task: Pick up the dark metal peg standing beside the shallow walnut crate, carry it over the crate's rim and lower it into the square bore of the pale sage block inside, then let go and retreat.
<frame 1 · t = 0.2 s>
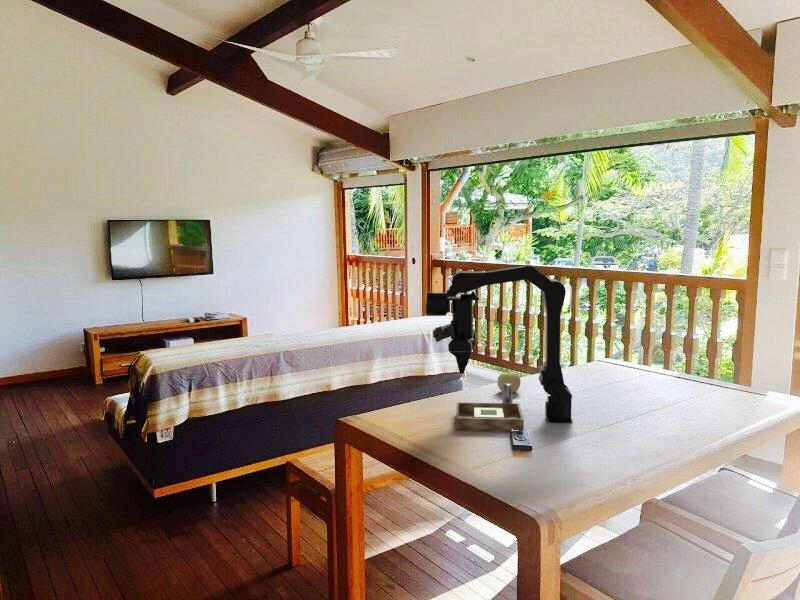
hand: (463, 369, 171), 14 cm above the table, fingers open, 9 cm apart
crate: (488, 422, 168), on the table
bore plate: (488, 416, 167), in the crate, point 1 cm above the table
fruit: (509, 392, 196), on the table
peg: (507, 410, 178), on the table
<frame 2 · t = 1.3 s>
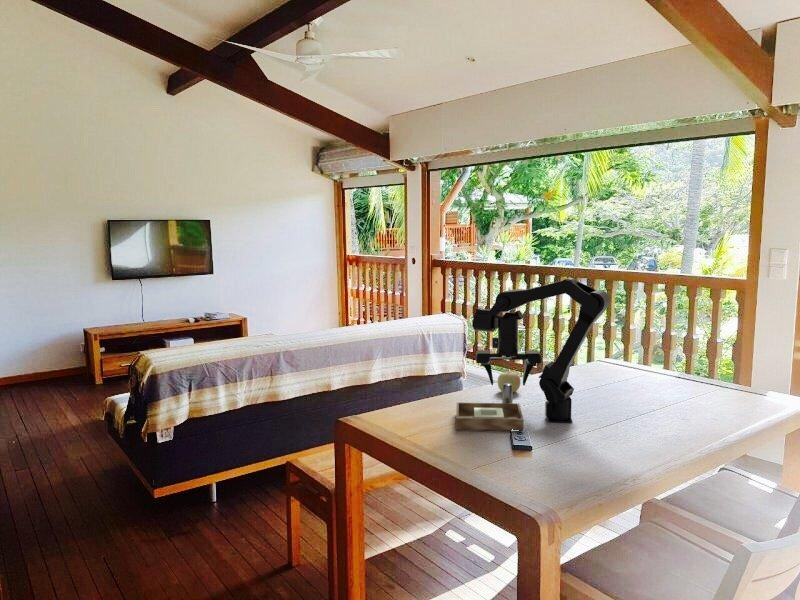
hand: (507, 385, 177), 8 cm above the table, fingers open, 9 cm apart
nothing on the table moved.
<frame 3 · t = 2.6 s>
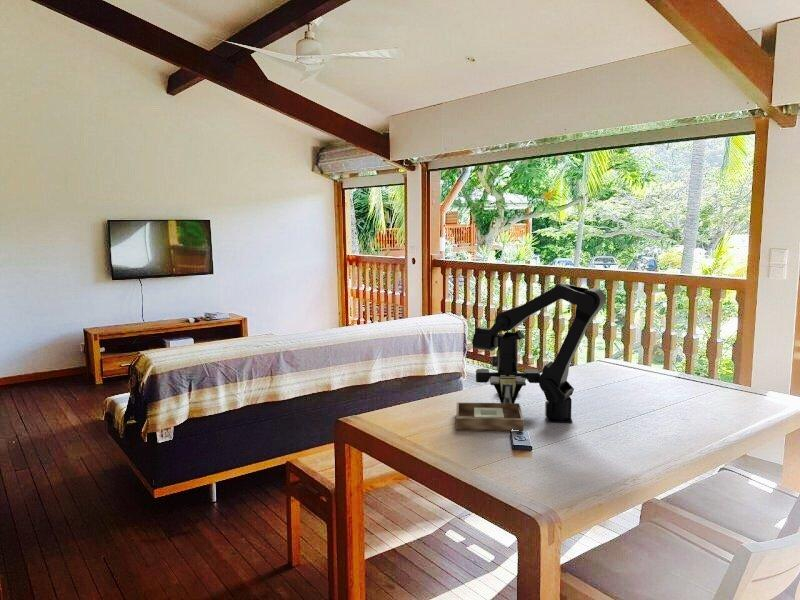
hand: (507, 403, 178), 2 cm above the table, fingers closed on peg, 3 cm apart
peg: (507, 410, 178), on the table, touching gripper
everything else where it was.
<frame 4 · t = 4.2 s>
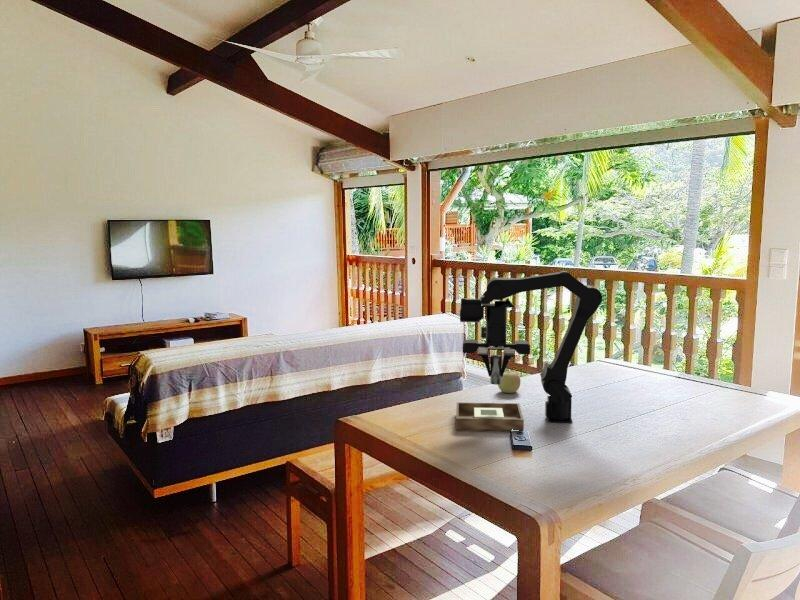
hand: (495, 376, 170), 12 cm above the table, fingers closed on peg, 3 cm apart
peg: (495, 383, 171), point 10 cm above the table, touching gripper
everything else where it was.
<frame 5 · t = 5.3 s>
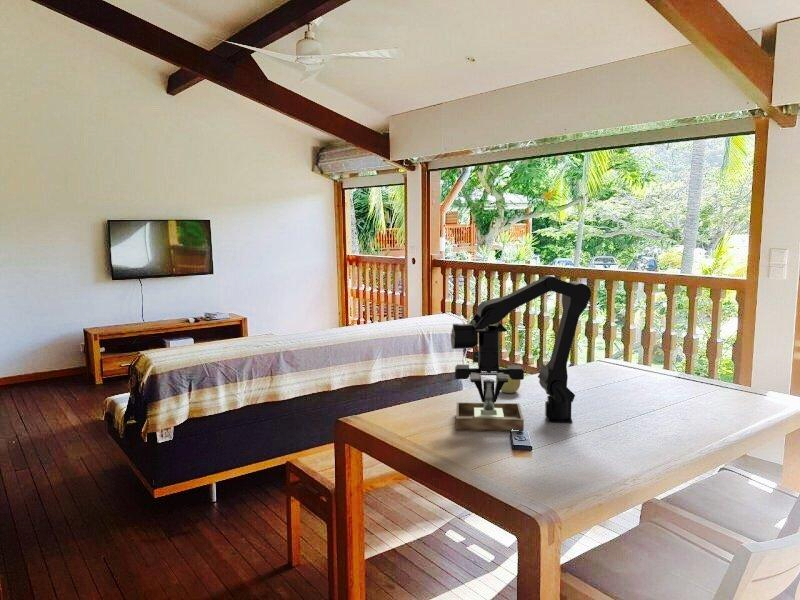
hand: (488, 401, 167), 6 cm above the table, fingers closed on peg, 3 cm apart
peg: (488, 408, 167), point 4 cm above the table, touching gripper
everything else where it was.
when the fingers open (4 cm above the table, at t = 5.9 s): peg drops 1 cm, resting on crate.
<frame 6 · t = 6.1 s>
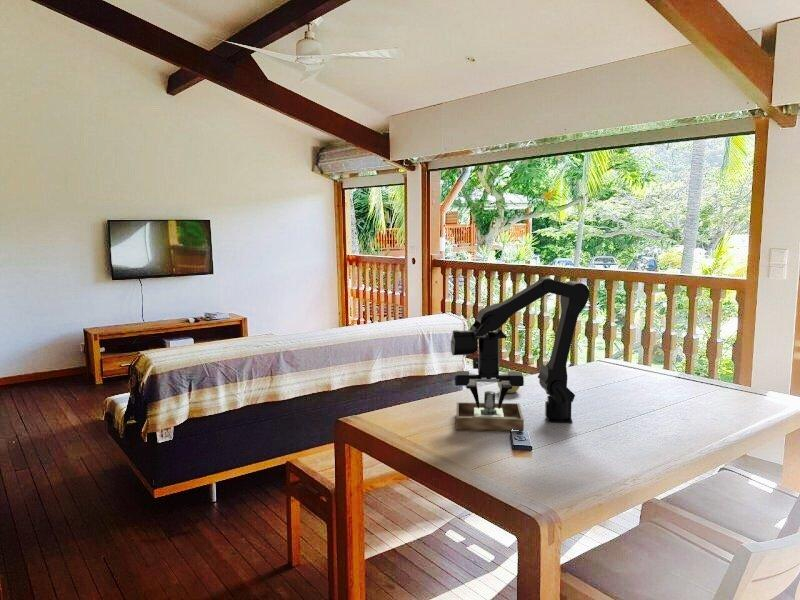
hand: (488, 408, 167), 4 cm above the table, fingers open, 5 cm apart
peg: (488, 420, 168), point 1 cm above the table, touching crate
everything else where it was.
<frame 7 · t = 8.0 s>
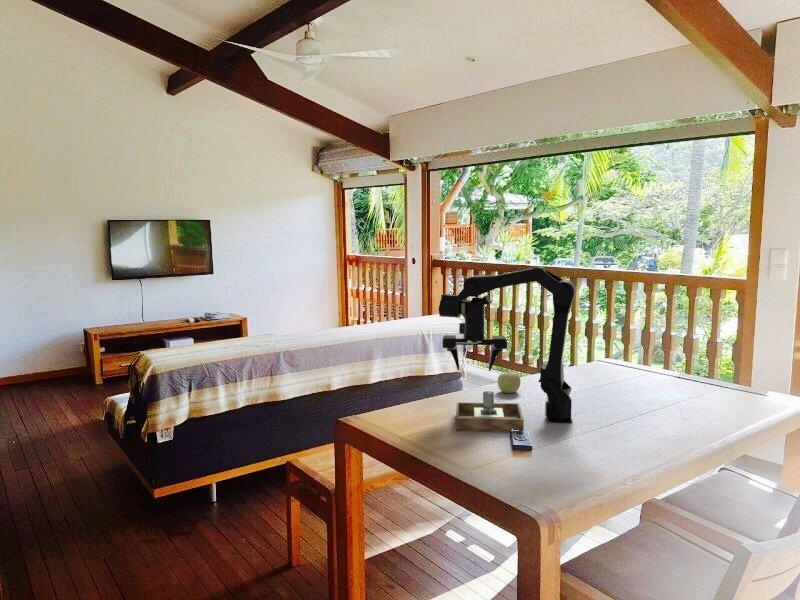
hand: (473, 370, 177), 12 cm above the table, fingers open, 9 cm apart
nothing on the table moved.
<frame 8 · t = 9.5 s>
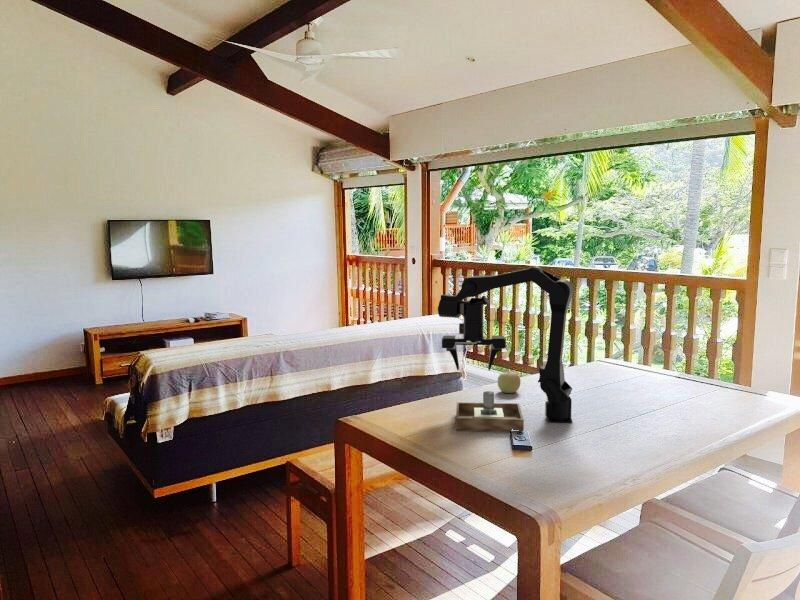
hand: (473, 370, 178), 12 cm above the table, fingers open, 9 cm apart
nothing on the table moved.
at the end: peg 0.1 cm off-centre on the bore plate, point 0.6 cm above the bore plate's base; peg tilted 1°; the gripper is holding nothing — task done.
